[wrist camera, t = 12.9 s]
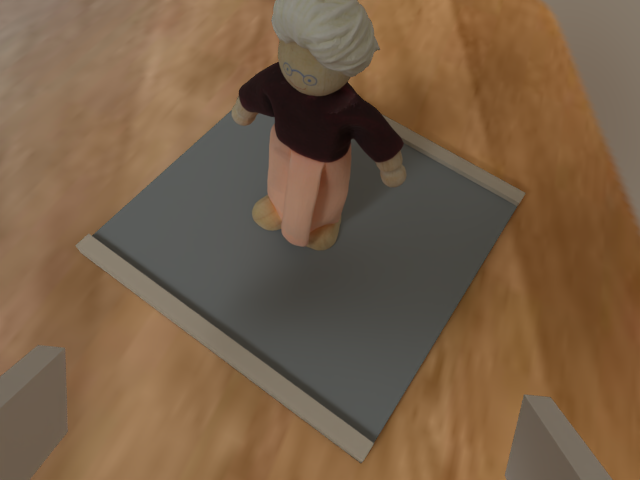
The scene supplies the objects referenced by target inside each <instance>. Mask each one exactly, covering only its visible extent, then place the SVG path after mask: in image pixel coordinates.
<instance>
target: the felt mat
mask: <svg viewBox="0 0 640 480" xmlns="http://www.w3.org/2000/svg"><path fill="white" fill-rule="evenodd" d="M383 117H384V118H385V119H386V121H387V122H388V123H389V124H390V126H391V127H392V128H393V129H394V130H395V131H396V133H397V134H398V135H399V136H400V137H401V138H402V140H403V142H404V145H403V147H402V149H401V154H402V159H403V160H402V165H403V166H404V167H405V170H406V174H407V175H406V179H405V181H404V182H403V183H402V184H401V185H400V186H398V187H388V186H386V185H385V184H384V183H383V181H382V179H381V176H380V169H379V168H378V167H377V165H376V163H375V161H373V160H372V159H371V158H370V157H369V156H368V155H367V154H366V153H365V152H364V151H363V150H362V148H361V147H360V146H359V145H358V143H357V142H356V141H355V140H354V139H352V140H351V172H350V180H349V187H348V194H347V198H346V201H345V204H344V207H343V210H342V213H341V223H340V227H339V232H338V236H337V239H336V242H335V244H334V245H333V246H331V247H330V248H329V249H326V250H320V251H319V250H314V249H311V248H309V247H306V246H304V247H301V246H296V245H293V244H291V243H290V242H288V241H287V240H286V239H285V238H284V236H283V235H282V231H281V229H279V230H274V231H271V230H266V229H263V228H262V227H260V226H259V225H258V224H257V223H256V222H255V221H254V219H253V217H252V209H253V207H254V205H255V203H256V202H257V201H259V200H260V199H261V198H263V197H265V196H266V195H268V193H267V179H268V168H269V142H270V132H271V128H272V126H273V125H274V123H275V117H270V116H267V115H263V114H260V113H259V114H258V115H256V118H255V120H254V121H253V122H252V123H251V124H250V125H247V126H242V125H239V124H237V123H236V122H235V121H234V120H233V118H232V110H231V111H230V112H229V113H228V114H227V115H226V116H225V117H224V118H222V119H221V120H220V121H219V122H218V123H217V124H216V125H215V126H214V127H212V128H211V129H210V130H209V131H208V132H207V133H206V134H205V135H204V136H202V137H201V138H200V139H199V140H198V141H197V142H196V143H195V144H194V145H192V146H191V147H190V148H189V149H188V150H187V151H186V152H185V153H184V154H182V155H181V156H180V157H179V158H178V159H177V160H176V161H175V162H174V163H172V164H171V165H170V166H169V167H168V168H167V169H166V170H165V171H164V172H162V173H161V174H160V175H159V176H158V177H157V178H156V179H155V180H154V181H152V182H151V183H150V184H149V185H148V186H147V187H146V188H145V189H143V190H142V191H141V192H140V193H139V194H138V195H137V196H136V197H135V198H133V199H132V200H131V201H130V202H129V203H128V204H127V205H126V206H125V207H123V208H122V209H121V210H120V211H119V212H118V213H117V214H116V215H115V216H113V217H112V218H111V219H110V220H109V221H108V222H107V223H106V224H105V225H103V226H102V227H101V228H100V229H99V230H98V231H97V232H96V233H95V234H93V235H92V236H91V235H90V234H88V235H87V236H86V237H84V238H83V239H82V240H81V241H80V242H79V243H78V244H77V245H75V246H76V247H77V248H78V250H79V251H80V252H81V253H82V254H83V255H84V256H86V257H87V258H88V259H90V260H91V261H92V262H94V263H95V264H96V265H98V266H99V267H100V268H102V269H103V270H104V271H106V272H107V273H108V274H110V275H111V276H112V277H114V278H115V279H116V280H118V281H119V282H120V283H122V284H123V285H124V286H126V287H127V288H128V289H130V290H131V291H132V292H134V293H135V294H136V295H138V296H139V297H140V298H142V299H143V300H144V301H146V302H147V303H148V304H150V305H151V306H152V307H154V308H155V309H156V310H158V311H159V312H160V313H162V314H163V315H164V316H166V317H167V318H168V319H170V320H171V321H172V322H174V323H175V324H176V325H178V326H179V327H180V328H182V329H183V330H184V331H186V332H187V333H188V334H190V335H191V336H192V337H194V338H195V339H196V340H198V341H199V342H200V343H202V344H203V345H204V346H206V347H207V348H208V349H210V350H211V351H212V352H214V353H215V354H216V355H218V356H219V357H220V358H222V359H223V360H224V361H226V362H227V363H228V364H230V365H231V366H232V367H234V368H235V369H236V370H238V371H239V372H240V373H242V374H243V375H244V376H245V377H247V378H248V379H249V380H251V381H252V382H253V383H255V384H256V385H257V386H259V387H260V388H261V389H263V390H264V391H265V392H267V393H268V394H269V395H271V396H272V397H273V398H275V399H276V400H277V401H279V402H280V403H281V404H283V405H284V406H285V407H287V408H288V409H289V410H291V411H292V412H293V413H295V414H296V415H297V416H299V417H300V418H301V419H303V420H304V421H305V422H307V423H308V424H309V425H311V426H312V427H313V428H315V429H316V430H317V431H319V432H320V433H321V434H323V435H324V436H325V437H327V438H328V439H329V440H331V441H332V442H333V443H335V444H336V445H337V446H339V447H340V448H341V449H343V450H344V451H345V452H347V453H348V454H349V455H351V456H352V457H353V458H355V459H356V460H357V461H359V462H360V463H362V462H363V461H364V459H365V458H366V456H367V454H368V453H369V451H370V449H371V448H372V446H373V444H374V442H375V440H376V439H377V437H378V435H379V434H380V432H381V430H382V429H383V427H384V425H385V424H386V422H387V420H388V419H389V417H390V415H391V414H392V412H393V411H394V409H395V407H396V406H397V404H398V402H399V401H400V399H401V397H402V396H403V394H404V392H405V391H406V389H407V387H408V386H409V384H410V382H411V381H412V379H413V378H414V376H415V374H416V373H417V371H418V369H419V368H420V366H421V364H422V363H423V361H424V359H425V358H426V356H427V354H428V353H429V351H430V349H431V348H432V346H433V345H434V343H435V341H436V340H437V338H438V336H439V335H440V333H441V331H442V330H443V328H444V326H445V325H446V323H447V321H448V320H449V318H450V316H451V315H452V313H453V312H454V310H455V308H456V307H457V305H458V303H459V302H460V300H461V298H462V297H463V295H464V293H465V292H466V290H467V288H468V287H469V285H470V283H471V282H472V280H473V279H474V277H475V275H476V274H477V272H478V270H479V269H480V267H481V265H482V264H483V262H484V260H485V259H486V257H487V255H488V254H489V252H490V250H491V249H492V247H493V246H494V244H495V242H496V241H497V239H498V237H499V236H500V234H501V232H502V231H503V229H504V227H505V226H506V224H507V222H508V221H509V219H510V218H511V216H512V214H513V213H514V211H515V209H516V208H517V206H518V205H519V203H520V202H521V200H522V198H523V197H524V195H525V192H523V191H521V190H519V189H517V188H516V187H514V186H512V185H510V184H508V183H507V182H505V181H503V180H501V179H499V178H497V177H496V176H494V175H492V174H490V173H488V172H486V171H485V170H483V169H481V168H479V167H477V166H475V165H474V164H472V163H470V162H468V161H466V160H465V159H463V158H461V157H459V156H457V155H455V154H454V153H452V152H450V151H448V150H446V149H444V148H443V147H441V146H439V145H437V144H435V143H433V142H432V141H430V140H428V139H426V138H424V137H423V136H421V135H419V134H417V133H415V132H413V131H412V130H410V129H408V128H406V127H404V126H402V125H401V124H399V123H397V122H395V121H393V120H391V119H390V118H388V117H386V116H384V115H383Z"/></svg>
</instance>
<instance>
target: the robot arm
mask: <svg viewBox="0 0 640 480" xmlns="http://www.w3.org/2000/svg"><path fill="white" fill-rule="evenodd" d="M67 432H68V426H67V393H66V361H65V348H61V347H51V346H41V345H38V346H36V347H35V348H34V349H33V350H32V351H30V352H29V353H28V354H27V355H26V356H24V357H23V358H22V359H21V360H20V361H18V362H17V363H16V364H15V365H14V366H12V367H11V368H10V369H9V370H8V371H6V372H5V373H4V374H3V375H2V376H0V480H30V479H31V477H32V476H33V475H34V474H35V472H36V471H37V470H38V469H39V467H40V466H41V465H42V464H43V462H44V461H45V460H46V458H47V457H48V456H49V455H50V453H51V452H52V451H53V450H54V448H55V447H56V446H57V445H58V443H59V442H60V441H61V440H62V438H63V437H64V436H65V435H66V433H67ZM505 477H506V479H507V480H612V478H611V477H610V476H609V474H608V473H607V472H606V470H605V469H604V468H603V466H602V465H601V464H600V462H599V461H598V460H597V458H596V457H595V456H594V454H593V453H592V452H591V450H590V449H589V448H588V446H587V445H586V444H585V442H584V441H583V440H582V438H581V437H580V436H579V434H578V433H577V432H576V430H575V429H574V428H573V426H572V425H571V424H570V422H569V421H568V420H567V419H566V417H565V416H564V415H563V413H562V412H561V411H560V409H559V408H558V407H557V405H556V404H555V403H554V401H553V400H552V399H551V397H543V396H534V395H524V397H523V401H522V405H521V409H520V413H519V418H518V422H517V426H516V430H515V435H514V439H513V443H512V447H511V452H510V456H509V460H508V464H507V469H506V473H505Z"/></svg>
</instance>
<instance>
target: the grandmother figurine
mask: <svg viewBox="0 0 640 480" xmlns="http://www.w3.org/2000/svg"><path fill="white" fill-rule="evenodd" d="M272 25H273V28H274V31H275V33H276V34H277V36H278V38H279V39H280V42H279V47H278V59H279V62H277V63H275V64H273V65H271V66H269V67H267V68H266V69H264V70H262V71H261V72H259V73H258V74H256V75H255V76H254V77H253V78H251V79H250V80H249V81H248V82H247V83H245V84H244V85H243V86H242V87H241V88H240V90H239V96H238V98H237V101H236V104H235V105H234V106H233V108H232V118H233V120H234V121H235V122H236V123H237V124H239V125H242V126H247V125H250V124H251V123H252V122H253V121H254V120H255V118H256V115H258V114H259V113H260V114H263V115H267V116H270V117H275V123H274V125H273V126H272V128H271V132H270V142H269V168H268V179H267V193H268V195H266V196H265V197H263V198H261V199H260V200H259V201H257V202H256V203H255V205H254V207H253V209H252V217H253V219H254V221H255V222H256V223H257V224H258V225H259V226H260V227H262V228H263V229H266V230H271V231H274V230H279V229H281V231H282V235H283V236H284V238H285V239H286V240H287V241H288V242H290V243H291V244H293V245H296V246H301V247H304V246H306V247H309V248H311V249H314V250H319V251H320V250H326V249H329V248H330V247H331V246H333V245H334V244H335V242H336V239H337V236H338V232H339V227H340V223H341V213H342V210H343V207H344V204H345V201H346V198H347V194H348V187H349V180H350V172H351V140H352V139H354V140H355V141H356V142H357V143H358V145H359V146H360V147H361V148H362V150H363V151H364V152H365V153H366V154H367V155H368V156H369V157H370V158H371V159H372V160H373V161H375V163H376V165H377V167H378V168H379V169H380V176H381V179H382V181H383V183H384V184H385V185H386V186H388V187H398V186H400V185H401V184H402V183H403V182H404V181H405V179H406V175H407V174H406V170H405V167H404V166H403V165H402V160H403V159H402V154H401V149H402V147H403V145H404V142H403V140H402V138H401V137H400V136H399V135H398V134H397V133H396V131H395V130H394V129H393V128H392V127H391V126H390V124H389V123H388V122H387V121H386V119H385V118H384V117H383V115H382V114H381V113H380V112H379V111H378V110H377V109H376V108H375V107H373V106H372V105H371V104H369V103H368V102H366V101H364V100H363V99H362V98H361V97H360V96H359V95H358V94H357V93H356V92H355V90H354V89H353V88H352V86H351V85H350V84H349V83H348V80H349V79H350V77H353V76H356V75H357V74H358V73H360V72H362V71H363V70H364V69H365V68H366V67H368V66H369V64H370V62H371V60H372V57H373V54H374V52H375V51H377V50H380V48H379V46H378V43H377V41H376V39H375V37H374V29H373V25H372V22H371V20H370V19H369V18H368V15H367V13H366V11H365V9H364V7H363V6H362V5H361V4H359V3H358V1H357V0H276V2H275V4H274V12H273V16H272Z"/></svg>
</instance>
